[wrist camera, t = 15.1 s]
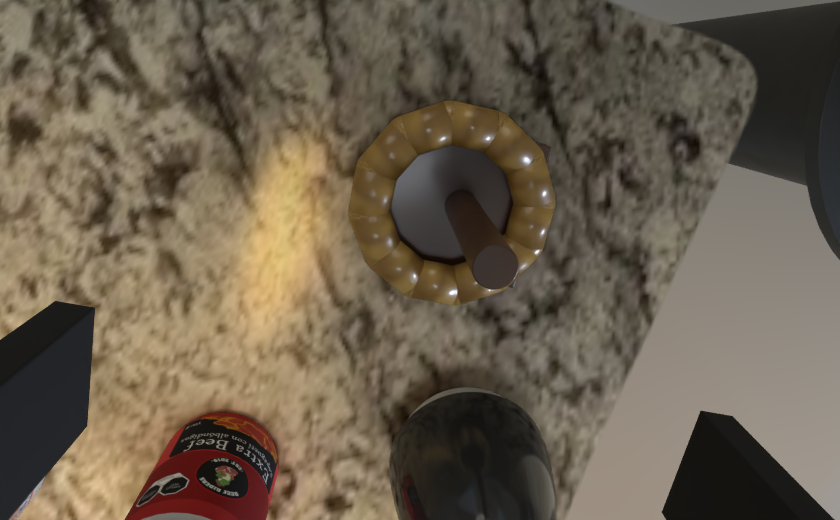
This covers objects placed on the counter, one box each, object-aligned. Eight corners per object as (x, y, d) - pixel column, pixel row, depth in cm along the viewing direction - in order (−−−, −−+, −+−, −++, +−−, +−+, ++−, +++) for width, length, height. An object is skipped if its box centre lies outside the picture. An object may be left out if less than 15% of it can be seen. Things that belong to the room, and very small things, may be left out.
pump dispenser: (511, 502, 46) (570, 702, 32) (373, 477, 45) (370, 675, 30) (553, 381, 43) (640, 541, 29) (408, 351, 42) (422, 502, 27)
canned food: (299, 436, 43) (273, 555, 33) (248, 521, 45) (208, 658, 35) (197, 389, 42) (135, 497, 31) (148, 478, 44) (75, 609, 33)
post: (545, 144, 38) (628, 184, 25) (509, 280, 41) (567, 379, 28) (401, 113, 37) (412, 139, 24) (373, 255, 40) (370, 346, 27)
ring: (570, 125, 37) (582, 130, 34) (518, 309, 40) (527, 324, 38) (372, 81, 35) (371, 83, 33) (335, 276, 38) (332, 289, 36)
